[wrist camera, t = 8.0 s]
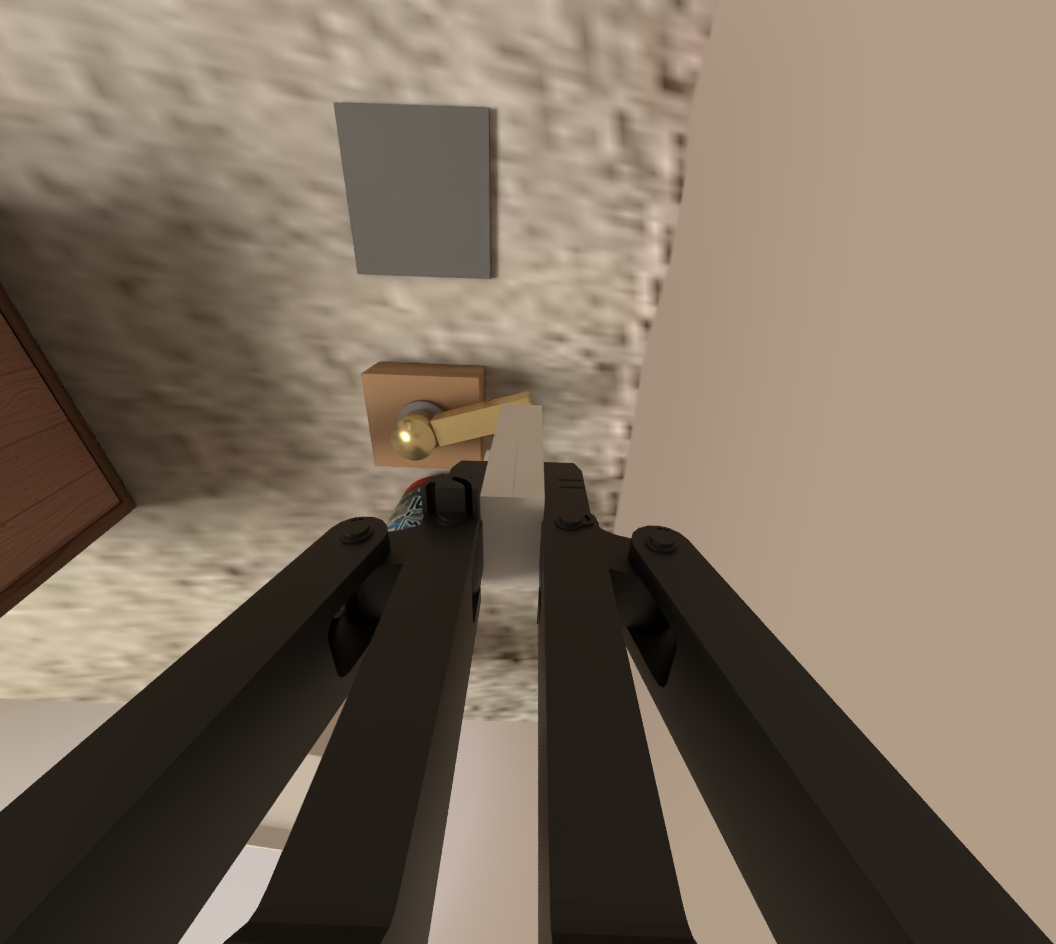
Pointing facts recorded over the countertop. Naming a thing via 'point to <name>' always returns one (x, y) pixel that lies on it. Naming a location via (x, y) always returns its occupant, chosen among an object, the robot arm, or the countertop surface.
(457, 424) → the lever
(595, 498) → the countertop surface
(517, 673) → the countertop surface
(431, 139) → the mat
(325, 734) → the milk carton
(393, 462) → the pedestal
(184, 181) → the countertop surface
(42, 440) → the tissue box
